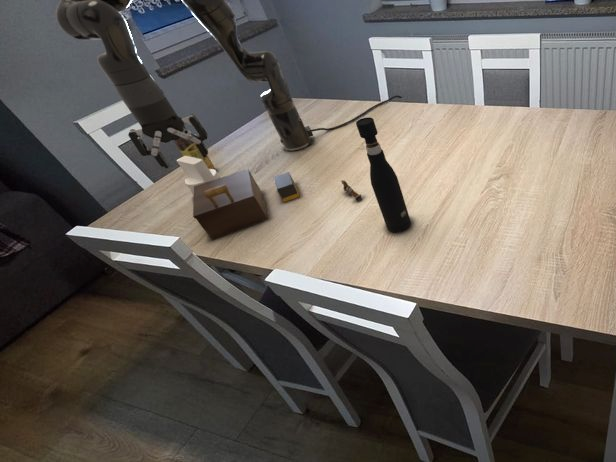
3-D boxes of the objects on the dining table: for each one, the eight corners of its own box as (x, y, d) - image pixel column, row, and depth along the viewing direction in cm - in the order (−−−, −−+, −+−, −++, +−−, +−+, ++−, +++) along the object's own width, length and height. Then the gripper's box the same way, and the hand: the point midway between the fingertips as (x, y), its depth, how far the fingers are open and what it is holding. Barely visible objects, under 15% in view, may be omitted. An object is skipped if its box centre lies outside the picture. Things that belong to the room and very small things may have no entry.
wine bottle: (388, 219, 110) (352, 116, 90) (411, 216, 110) (381, 113, 90) (385, 234, 105) (347, 129, 85) (410, 231, 105) (376, 125, 85)
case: (268, 219, 115) (254, 197, 110) (211, 239, 110) (194, 217, 105) (262, 192, 126) (249, 171, 121) (210, 210, 121) (195, 188, 116)
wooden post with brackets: (345, 186, 123) (344, 177, 119) (362, 203, 121) (361, 194, 117) (340, 189, 122) (338, 180, 118) (357, 206, 120) (356, 197, 116)
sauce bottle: (207, 179, 136) (171, 125, 123) (192, 178, 137) (155, 125, 125) (221, 168, 141) (187, 115, 128) (206, 168, 142) (172, 115, 129)
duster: (295, 184, 128) (288, 171, 125) (299, 196, 122) (292, 183, 119) (280, 189, 127) (273, 176, 124) (284, 202, 121) (276, 189, 118)
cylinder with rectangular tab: (232, 186, 131) (211, 154, 123) (207, 202, 125) (184, 169, 117) (214, 182, 134) (193, 150, 126) (189, 197, 128) (166, 165, 120)
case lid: (254, 198, 109) (244, 181, 106) (194, 218, 104) (182, 202, 101) (249, 171, 121) (240, 155, 118) (195, 188, 116) (184, 172, 113)
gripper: (105, 113, 86) (153, 177, 97) (179, 95, 91) (218, 158, 101) (111, 103, 91) (156, 164, 102) (181, 86, 96) (217, 147, 107)
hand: (187, 161), depth 102 cm, fingers open, 8 cm apart
